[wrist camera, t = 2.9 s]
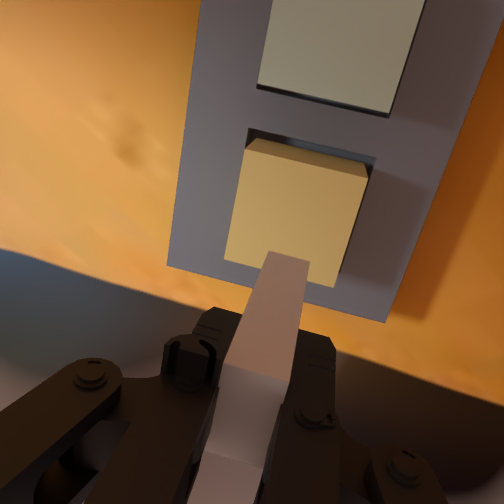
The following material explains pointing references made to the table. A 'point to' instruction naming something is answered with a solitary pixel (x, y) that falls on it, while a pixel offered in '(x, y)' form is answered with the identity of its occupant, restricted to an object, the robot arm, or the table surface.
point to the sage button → (339, 48)
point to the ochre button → (295, 207)
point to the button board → (327, 143)
